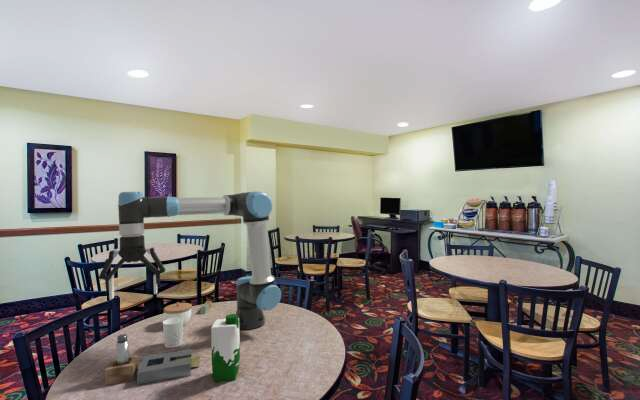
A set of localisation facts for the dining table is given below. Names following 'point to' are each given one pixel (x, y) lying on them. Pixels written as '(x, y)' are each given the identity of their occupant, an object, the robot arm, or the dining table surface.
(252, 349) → the dining table surface
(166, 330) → the white cup
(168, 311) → the lidded bowl
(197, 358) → the bar
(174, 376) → the socket block
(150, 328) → the dining table surface
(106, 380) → the tan wooden open box
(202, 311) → the medication box
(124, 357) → the grey cylindrical rod
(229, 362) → the milk carton
